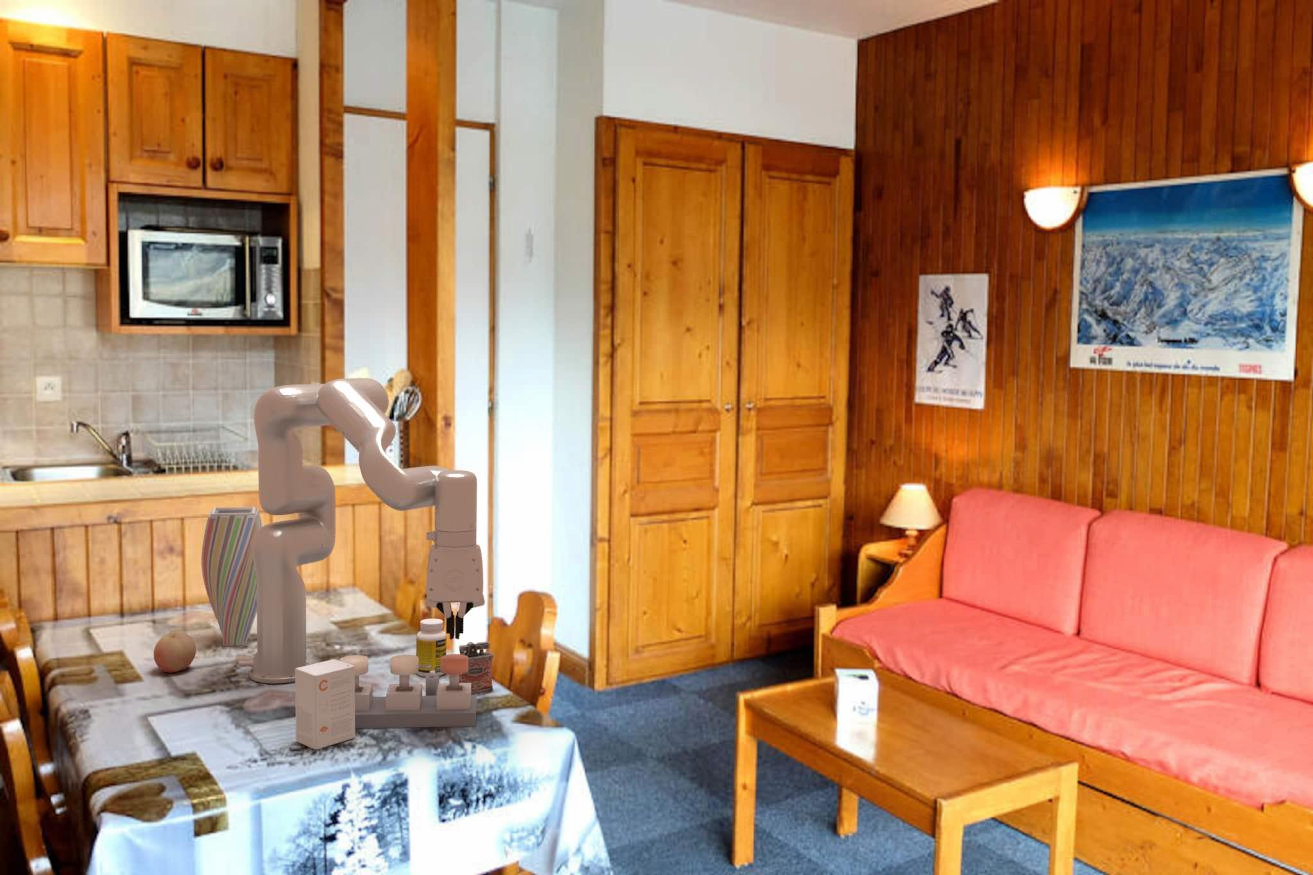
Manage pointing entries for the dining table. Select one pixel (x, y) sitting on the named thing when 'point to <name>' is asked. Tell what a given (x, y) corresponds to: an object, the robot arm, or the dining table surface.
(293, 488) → the robot arm
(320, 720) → the small box
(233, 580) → the vase
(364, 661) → the knob near
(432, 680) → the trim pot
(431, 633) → the pill bottle
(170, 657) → the fruit
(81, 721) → the dining table surface
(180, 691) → the dining table surface
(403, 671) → the knob mid
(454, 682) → the knob far
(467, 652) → the lighter
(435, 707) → the mount board
